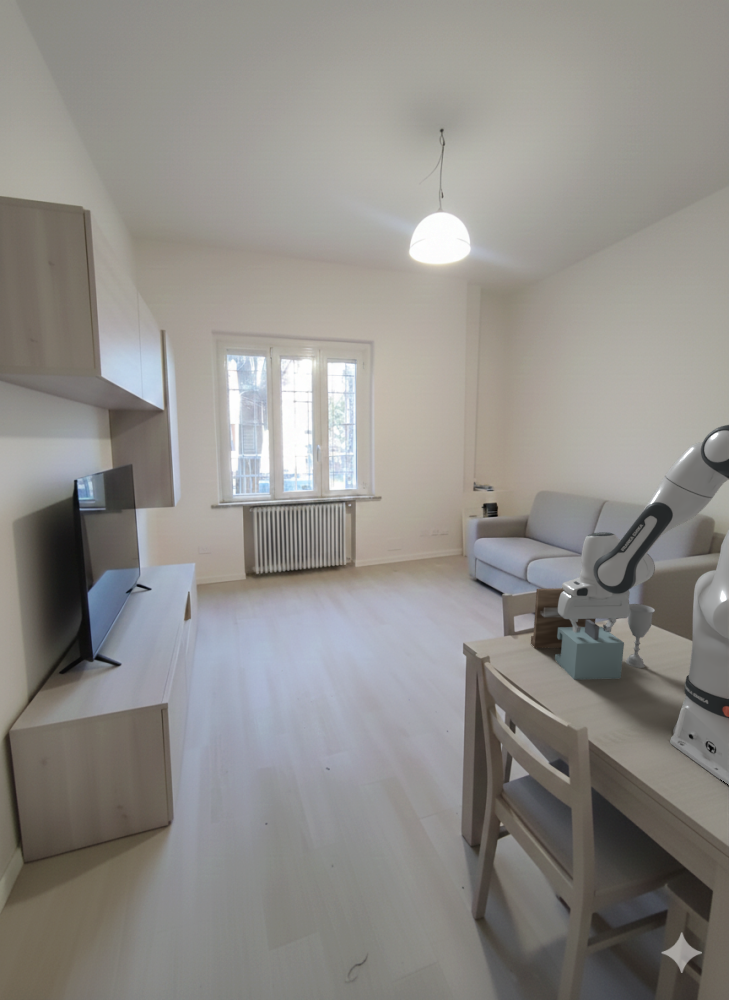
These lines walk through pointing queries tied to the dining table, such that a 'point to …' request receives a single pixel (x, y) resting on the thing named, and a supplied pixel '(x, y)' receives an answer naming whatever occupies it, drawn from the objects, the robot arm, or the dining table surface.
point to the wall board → (549, 619)
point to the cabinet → (590, 652)
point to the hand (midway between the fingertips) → (591, 631)
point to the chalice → (638, 629)
